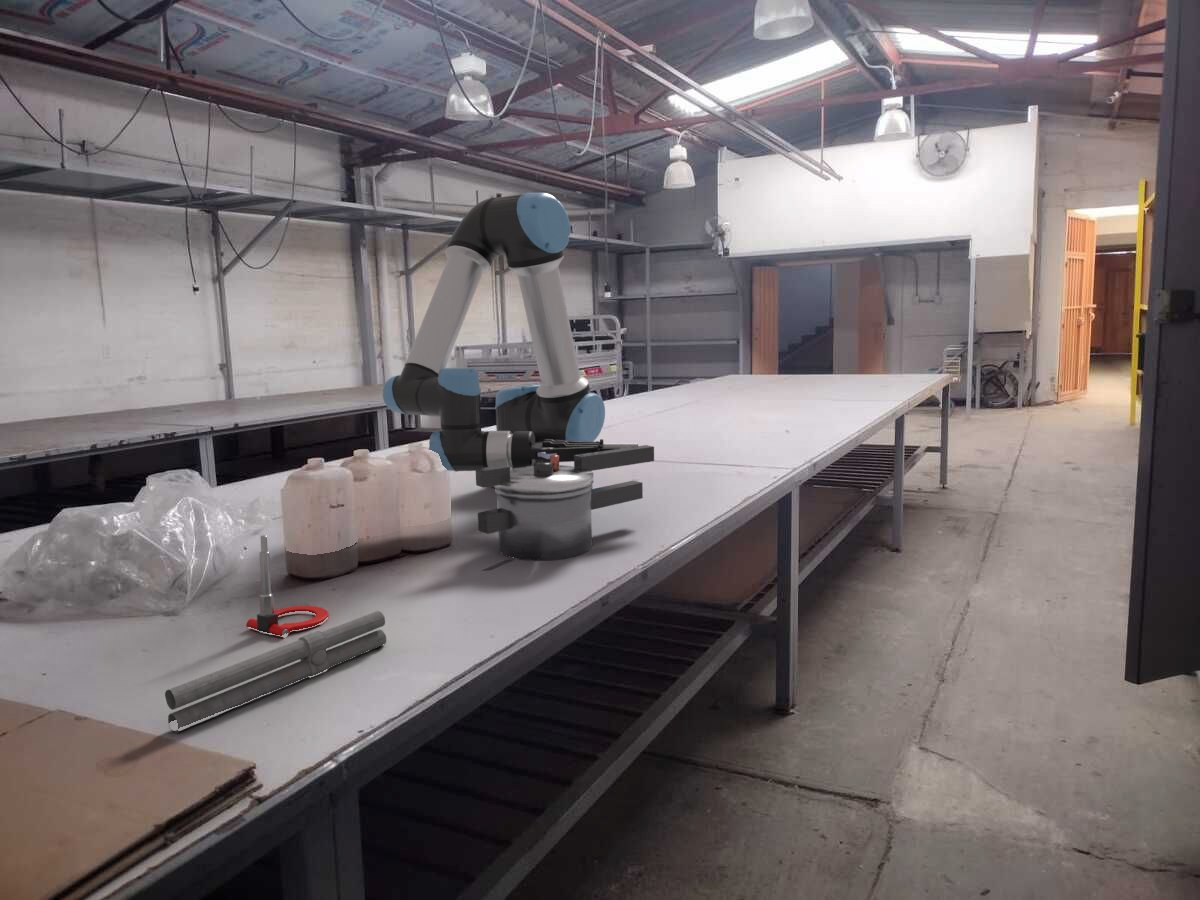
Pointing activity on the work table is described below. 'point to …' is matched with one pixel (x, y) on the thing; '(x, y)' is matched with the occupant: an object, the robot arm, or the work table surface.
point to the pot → (551, 520)
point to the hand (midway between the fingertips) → (638, 450)
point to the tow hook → (268, 615)
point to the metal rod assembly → (304, 648)
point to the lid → (560, 471)
